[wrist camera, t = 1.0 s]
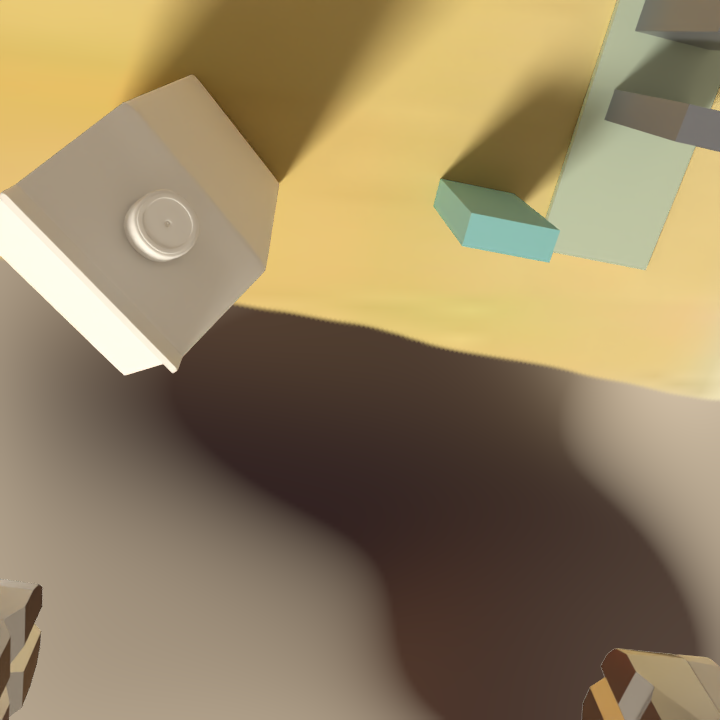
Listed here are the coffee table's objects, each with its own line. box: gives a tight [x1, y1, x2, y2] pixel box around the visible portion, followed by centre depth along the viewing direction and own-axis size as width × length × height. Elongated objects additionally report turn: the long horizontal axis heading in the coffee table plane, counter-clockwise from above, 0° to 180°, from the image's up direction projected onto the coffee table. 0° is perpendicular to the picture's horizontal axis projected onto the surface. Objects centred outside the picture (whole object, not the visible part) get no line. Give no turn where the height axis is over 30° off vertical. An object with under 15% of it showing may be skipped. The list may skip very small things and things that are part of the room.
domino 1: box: [434, 179, 560, 262], centre depth 36 cm, size 2×4×8 cm, turn 78°
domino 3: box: [604, 89, 720, 152], centre depth 34 cm, size 2×4×8 cm, turn 78°
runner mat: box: [545, 0, 720, 270], centre depth 36 cm, size 26×7×1 cm, turn 168°
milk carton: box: [0, 75, 279, 375], centre depth 29 cm, size 7×7×19 cm
